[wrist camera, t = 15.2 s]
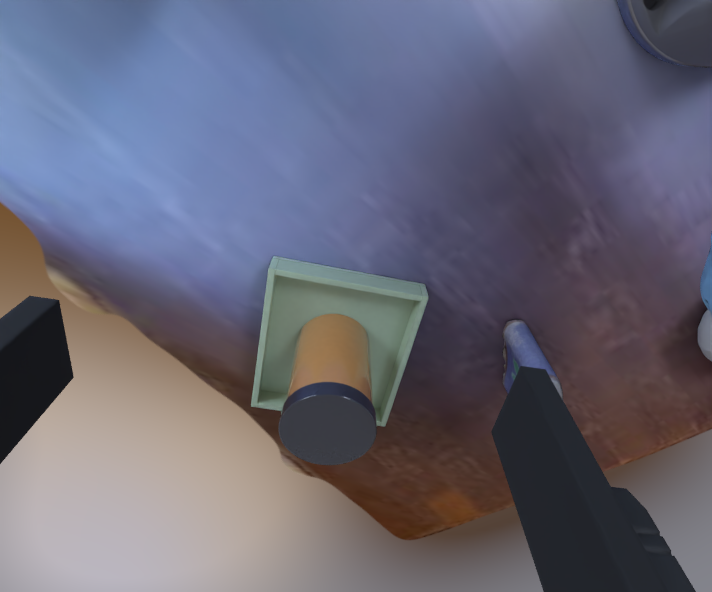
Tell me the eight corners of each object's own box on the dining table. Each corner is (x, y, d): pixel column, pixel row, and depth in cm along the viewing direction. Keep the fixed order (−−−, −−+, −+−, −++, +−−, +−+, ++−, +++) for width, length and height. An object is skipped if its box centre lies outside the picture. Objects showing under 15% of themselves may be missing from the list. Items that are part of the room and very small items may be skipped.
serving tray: (425, 283, 42) (429, 297, 40) (383, 409, 50) (385, 426, 48) (273, 255, 40) (268, 267, 38) (255, 390, 48) (250, 406, 46)
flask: (501, 319, 44) (541, 396, 35) (532, 315, 44) (581, 391, 34) (501, 390, 48) (536, 474, 39) (528, 387, 48) (570, 471, 39)
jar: (379, 319, 43) (387, 403, 33) (362, 379, 47) (365, 471, 37) (301, 305, 42) (285, 387, 32) (290, 367, 46) (272, 458, 36)
